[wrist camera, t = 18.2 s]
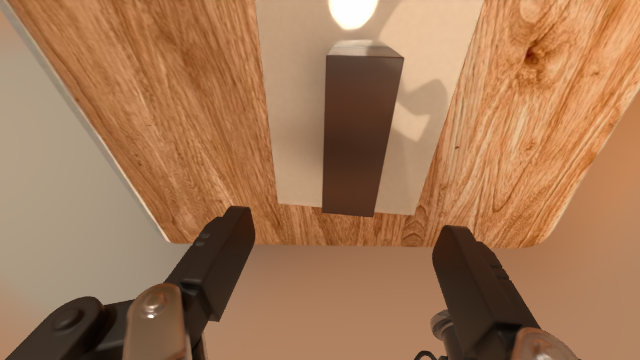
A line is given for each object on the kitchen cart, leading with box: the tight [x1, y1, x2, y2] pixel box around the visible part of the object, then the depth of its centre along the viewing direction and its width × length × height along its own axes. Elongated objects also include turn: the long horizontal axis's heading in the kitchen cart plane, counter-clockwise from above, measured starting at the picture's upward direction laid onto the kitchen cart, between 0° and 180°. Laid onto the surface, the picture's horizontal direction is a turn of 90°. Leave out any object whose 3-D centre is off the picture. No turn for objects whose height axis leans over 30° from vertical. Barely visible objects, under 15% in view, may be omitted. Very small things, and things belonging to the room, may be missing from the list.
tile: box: [255, 0, 484, 216], centre depth 21 cm, size 20×15×2 cm
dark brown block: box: [322, 45, 404, 217], centre depth 17 cm, size 11×4×6 cm, turn 178°
